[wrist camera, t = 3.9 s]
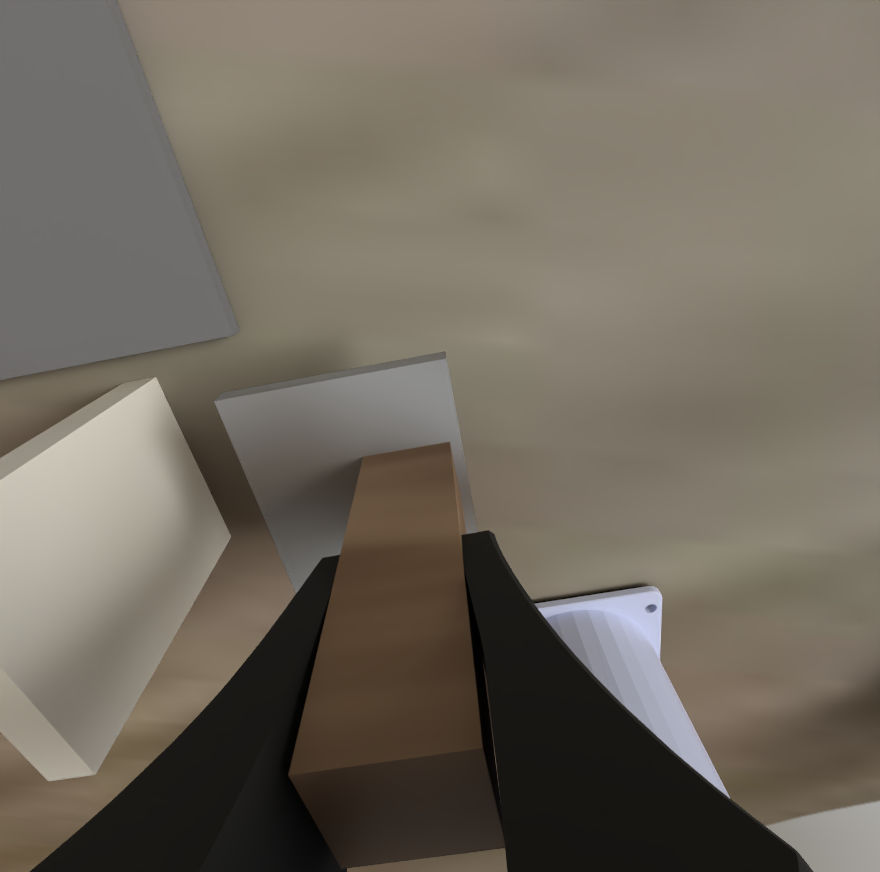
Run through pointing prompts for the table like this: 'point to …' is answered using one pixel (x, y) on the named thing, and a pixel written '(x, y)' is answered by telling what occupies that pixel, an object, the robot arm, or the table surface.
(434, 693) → the turner
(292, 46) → the table surface
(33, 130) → the mat
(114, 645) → the tile
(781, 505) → the table surface
